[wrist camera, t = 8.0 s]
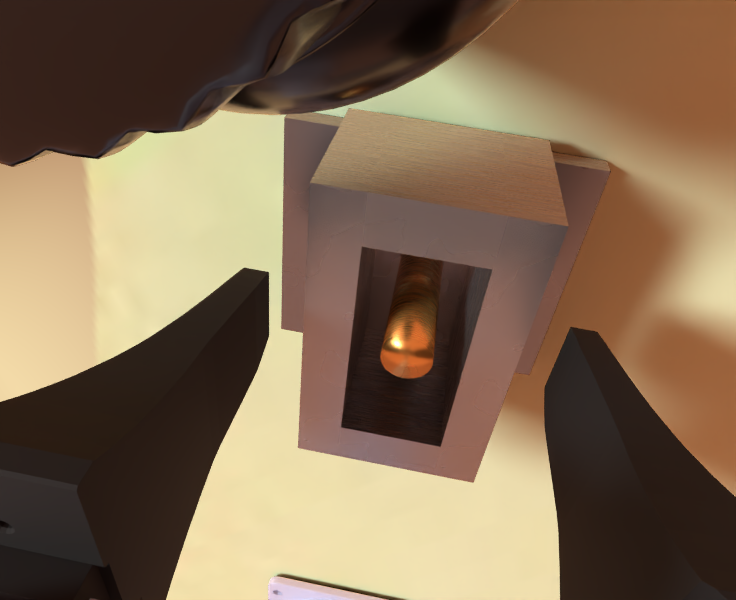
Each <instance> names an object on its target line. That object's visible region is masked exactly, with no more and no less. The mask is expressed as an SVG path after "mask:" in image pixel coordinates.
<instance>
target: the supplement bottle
mask: <svg viewBox="0 0 736 600" xmlns="http://www.w3.org/2000/svg"><path fill="white" fill-rule="evenodd" d="M518 1H519V0H0V163H1V164H5V165H8V166H12V167H14V166H18V165H22V164H25V163H29V162H32V161H34V160H37V159H39V158H41V157H44V156H45V155H48V154H50V153H52V152H57V153H61V154H66V155H71V156H78V157H86V158H95V159H100V158H103V157H107V156H110V155H113V154H115V153H118V152H120V151H121V150H123V149H125V148H126V147H128V146H129V145H130V144H132V143H133V142H135V141H136V140H137V139H138V138H140V137H141V136H142V135H144V134H145V133H146V132H152V133H166V132H178V131H185V130H188V129H191V128H194V127H197V126H199V125H201V124H202V123H204V122H205V121H207V120H208V119H209V118H210V117H211V116H213V115H214V114H215V113H216V112H217V111H218V110H223V111H230V112H236V113H247V114H264V115H282V114H303V113H309V112H316V111H323V110H329V109H334V108H338V107H342V106H346V105H350V104H354V103H358V102H361V101H364V100H367V99H370V98H372V97H375V96H378V95H381V94H383V93H386V92H389V91H391V90H394V89H396V88H398V87H400V86H402V85H404V84H406V83H408V82H410V81H412V80H414V79H416V78H419V77H421V76H423V75H425V74H426V73H428V72H429V71H431V70H433V69H434V68H436V67H437V66H439V65H441V64H442V63H444V62H445V61H447V60H449V59H450V58H452V57H453V56H455V55H456V54H458V53H459V52H460V51H462V50H463V49H464V48H465V47H467V46H468V45H469V44H471V43H472V42H473V41H475V40H476V39H477V38H479V37H480V36H481V35H482V34H484V33H485V32H486V31H487V30H488V29H489V28H490V27H491V26H493V25H494V24H495V23H496V22H497V21H498V20H499V19H500V18H501V17H502V16H503V15H504V14H506V13H507V12H508V11H509V10H510V9H511V8H512V7H513V6H514V5H515V4H516V3H517V2H518Z"/></svg>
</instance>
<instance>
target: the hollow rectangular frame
mask: <svg viewBox="0 0 736 600" xmlns="http://www.w3.org/2000/svg"><path fill="white" fill-rule="evenodd" d="M568 227H569V225H568V221H567V216H566V212H565V208H564V203H563V199H562V194H561V190H560V185H559V181H558V176H557V172H556V168H555V163H554V159H553V154H552V150H551V145H550V141H549V140H544V139H538V138H532V137H525V136H519V135H513V134H507V133H500V132H494V131H488V130H482V129H476V128H469V127H463V126H457V125H451V124H445V123H438V122H432V121H426V120H420V119H414V118H407V117H401V116H395V115H389V114H383V113H376V112H370V111H364V110H358V109H352V108H349V109H348V111H347V113H346V115H345V117H344V119H343V121H342V123H341V124H340V126H339V128H338V130H337V132H336V134H335V136H334V138H333V140H332V141H331V143H330V145H329V147H328V149H327V151H326V153H325V155H324V157H323V159H322V160H321V162H320V164H319V166H318V168H317V170H316V172H315V174H314V176H313V177H312V179H311V181H310V189H309V212H308V235H307V258H306V280H305V303H304V326H303V348H302V371H301V394H300V416H299V439H298V448H301V449H306V450H311V451H316V452H321V453H326V454H331V455H336V456H342V457H347V458H352V459H357V460H362V461H367V462H372V463H377V464H382V465H387V466H392V467H397V468H402V469H407V470H412V471H417V472H422V473H427V474H432V475H437V476H442V477H447V478H453V479H458V480H463V481H468V482H474V479H475V477H476V474H477V471H478V469H479V466H480V463H481V461H482V458H483V455H484V453H485V450H486V447H487V445H488V442H489V439H490V437H491V434H492V431H493V428H494V426H495V423H496V420H497V418H498V415H499V412H500V410H501V407H502V404H503V402H504V399H505V396H506V394H507V391H508V388H509V386H510V383H511V380H512V377H513V375H514V372H515V369H516V367H517V364H518V361H519V359H520V356H521V353H522V351H523V348H524V345H525V343H526V340H527V337H528V335H529V332H530V329H531V326H532V324H533V321H534V318H535V316H536V313H537V310H538V308H539V305H540V302H541V300H542V297H543V294H544V292H545V289H546V286H547V284H548V281H549V278H550V276H551V273H552V270H553V267H554V265H555V262H556V259H557V257H558V254H559V251H560V249H561V246H562V243H563V241H564V238H565V235H566V233H567V230H568ZM376 249H379V250H384V251H390V252H396V253H401V254H407V255H413V256H418V257H424V258H430V259H436V260H441V261H447V262H453V263H458V264H464V265H468V269H467V273H466V277H465V281H464V284H463V288H462V292H461V296H460V300H459V304H458V308H457V311H456V315H455V319H454V323H453V327H452V331H451V335H450V338H449V342H448V343H446V342H440V341H435V348H434V358H433V365H432V368H431V369H430V371H429V372H428V373H426V374H425V375H423V376H421V377H418V378H401V377H398V376H395V375H393V374H391V373H390V372H388V371H387V370H386V369H385V368H384V366H383V365H382V363H381V359H380V355H381V350H382V345H383V340H384V335H385V331H380V330H375V329H369V328H366V323H367V315H368V308H369V300H370V293H371V285H372V278H373V270H374V263H375V255H376Z"/></svg>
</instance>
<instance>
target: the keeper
mask: <svg viewBox="0 0 736 600" xmlns="http://www.w3.org/2000/svg"><path fill="white" fill-rule="evenodd" d="M343 119H344V118H342V117H336V116H330V115H324V114H318V113H312V112H309V113H303V114H287V115H286V116H285V123H284V190H283V256H282V323H281V329H286V330H291V331H296V332H302V333H303V326H304V303H305V280H306V258H307V235H308V212H309V189H310V181H311V179H312V177H313V176H314V174H315V172H316V170H317V168H318V166H319V164H320V162H321V160H322V159H323V157H324V155H325V153H326V151H327V149H328V147H329V145H330V143H331V141H332V140H333V138H334V136H335V134H336V132H337V130H338V128H339V126H340V124H341V123H342V121H343ZM552 154H553V159H554V163H555V168H556V172H557V176H558V181H559V185H560V190H561V194H562V199H563V203H564V208H565V212H566V216H567V221H568V225H569V227H568V230H567V233H566V235H565V238H564V241H563V243H562V246H561V249H560V251H559V254H558V257H557V259H556V262H555V265H554V267H553V270H552V273H551V276H550V278H549V281H548V284H547V286H546V289H545V292H544V294H543V297H542V300H541V302H540V305H539V308H538V310H537V313H536V316H535V318H534V321H533V324H532V326H531V329H530V332H529V335H528V337H527V340H526V343H525V345H524V348H523V351H522V353H521V356H520V359H519V361H518V364H517V367H516V369H515V373H520V374H526V375H529V374H530V372H531V369H532V367H533V364H534V362H535V359H536V357H537V354H538V352H539V349H540V347H541V344H542V342H543V339H544V337H545V334H546V332H547V329H548V327H549V324H550V322H551V320H552V317H553V315H554V312H555V310H556V307H557V305H558V302H559V300H560V297H561V295H562V292H563V290H564V287H565V285H566V282H567V280H568V277H569V275H570V272H571V270H572V267H573V265H574V262H575V260H576V257H577V255H578V252H579V250H580V247H581V245H582V242H583V240H584V237H585V235H586V232H587V230H588V227H589V225H590V222H591V220H592V217H593V215H594V212H595V210H596V207H597V205H598V202H599V200H600V197H601V195H602V192H603V190H604V187H605V185H606V182H607V180H608V177H609V175H610V172H611V171H610V168H609V166H608V163H607V161H604V160H598V159H592V158H586V157H579V156H573V155H567V154H561V153H555V152H552ZM467 269H468V265H464V264H458V263H453V262H447V261H441V260H436V259H430V258H424V257H418V256H413V255H407V254H401V253H396V252H390V251H384V250H379V249H376V255H375V263H374V270H373V278H372V285H371V293H370V300H369V308H368V315H367V323H366V328H369V329H375V330H380V331H385V335H384V340H383V345H382V350H381V355H380V359H381V363H382V365H383V366H384V368H385V369H386V370H387V371H388V372H390V373H391V374H393V375H395V376H398V377H401V378H418V377H421V376H423V375H425V374H426V373H428V372H429V371H430V369H431V368H432V365H433V358H434V348H435V341H440V342H446V343H448V342H449V338H450V335H451V331H452V327H453V323H454V319H455V315H456V311H457V308H458V304H459V300H460V296H461V292H462V288H463V284H464V281H465V277H466V273H467Z"/></svg>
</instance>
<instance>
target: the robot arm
mask: <svg viewBox="0 0 736 600" xmlns="http://www.w3.org/2000/svg"><path fill="white" fill-rule="evenodd" d="M268 337H269V272H265V271H259V270H254V269H248V268H243V269H242V270H240V271H239V272H238V273H236V274H235V275H234V276H233V277H231V278H230V279H229V280H228V281H226V282H225V283H224V284H223V285H221V286H220V287H219V288H218V289H216V290H215V291H214V292H213V293H211V294H210V295H209V296H208V297H206V298H205V299H204V300H202V301H201V302H200V303H198V304H197V305H196V306H194V307H193V308H192V309H190V310H189V311H188V312H186V313H185V314H184V315H182V316H181V317H179V318H178V319H176V320H175V321H173V322H172V323H170V324H169V325H167V326H166V327H164V328H163V329H162V330H160V331H159V332H157V333H156V334H154V335H152V336H151V337H149V338H148V339H146V340H144V341H143V342H141V343H139V344H138V345H136V346H134V347H132V348H130V349H128V350H127V351H125V352H123V353H121V354H119V355H117V356H115V357H113V358H111V359H109V360H107V361H105V362H103V363H101V364H98V365H96V366H94V367H92V368H90V369H88V370H86V371H83V372H81V373H79V374H77V375H75V376H72V377H70V378H67V379H65V380H62V381H60V382H57V383H55V384H52V385H50V386H47V387H44V388H41V389H39V390H36V391H33V392H30V393H27V394H24V395H21V396H18V397H15V398H12V399H9V400H6V401H2V402H0V600H166V597H167V594H168V591H169V588H170V584H171V581H172V578H173V575H174V572H175V569H176V566H177V563H178V560H179V557H180V554H181V551H182V548H183V545H184V542H185V539H186V536H187V533H188V530H189V527H190V524H191V521H192V518H193V515H194V513H195V510H196V507H197V504H198V501H199V498H200V496H201V493H202V490H203V488H204V485H205V482H206V479H207V477H208V474H209V471H210V469H211V466H212V463H213V461H214V458H215V456H216V454H217V452H218V449H219V447H220V445H221V443H222V441H223V439H224V437H225V435H226V433H227V431H228V429H229V427H230V425H231V423H232V421H233V419H234V417H235V415H236V413H237V411H238V409H239V407H240V405H241V403H242V401H243V399H244V397H245V395H246V393H247V390H248V388H249V386H250V384H251V382H252V380H253V378H254V376H255V374H256V372H257V370H258V367H259V364H260V361H261V358H262V355H263V352H264V349H265V346H266V343H267V340H268ZM544 417H545V433H546V441H547V448H548V455H549V462H550V469H551V476H552V483H553V490H554V497H555V504H556V511H557V520H558V532H559V561H560V600H736V497H735V496H734V495H733V494H732V493H731V492H729V491H728V490H727V489H726V488H725V487H724V486H723V485H722V484H721V483H720V482H719V481H718V480H717V479H716V478H714V477H713V476H712V475H711V474H710V473H709V472H708V471H707V470H706V469H705V468H704V467H703V465H702V464H701V463H700V462H699V461H698V460H697V459H696V458H695V457H694V456H693V455H692V454H691V453H690V452H689V451H688V450H687V449H686V448H685V447H684V446H683V444H682V443H681V442H680V441H679V440H678V439H677V438H676V437H675V435H674V434H673V433H672V432H671V431H670V429H669V428H668V427H667V426H666V425H665V423H664V422H663V421H662V420H661V419H660V417H659V416H658V415H657V414H656V413H655V411H654V410H653V409H652V407H651V406H650V405H649V404H648V402H647V401H646V400H645V398H644V397H643V396H642V394H641V393H640V392H639V390H638V389H637V388H636V386H635V385H634V384H633V382H632V381H631V379H630V378H629V377H628V375H627V374H626V372H625V371H624V370H623V368H622V367H621V365H620V364H619V362H618V361H617V359H616V358H615V357H614V355H613V354H612V352H611V351H610V349H609V348H608V346H607V345H606V343H605V342H604V341H603V339H602V338H601V336H600V335H599V334H598V332H595V331H589V330H584V329H578V328H573V327H571V328H570V330H569V332H568V335H567V337H566V339H565V342H564V344H563V346H562V348H561V351H560V353H559V355H558V358H557V360H556V362H555V365H554V367H553V369H552V372H551V374H550V376H549V379H548V381H547V383H546V385H545V396H544ZM268 600H387V599H382V598H378V597H373V596H368V595H364V594H359V593H354V592H349V591H345V590H340V589H335V588H331V587H326V586H321V585H317V584H312V583H307V582H303V581H298V580H293V579H289V578H284V577H279V576H274V577H272V578H271V579H270V582H269V585H268Z"/></svg>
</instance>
